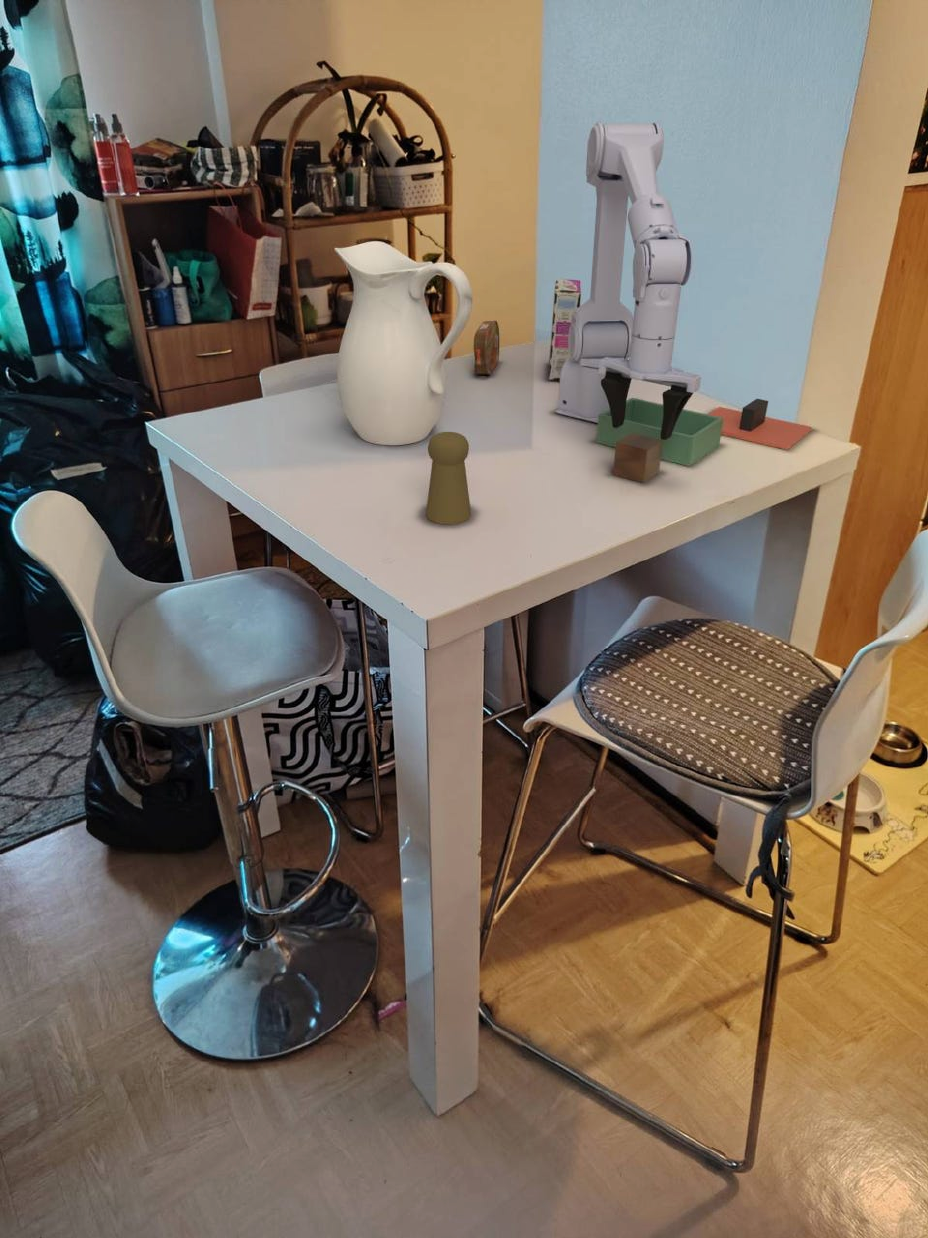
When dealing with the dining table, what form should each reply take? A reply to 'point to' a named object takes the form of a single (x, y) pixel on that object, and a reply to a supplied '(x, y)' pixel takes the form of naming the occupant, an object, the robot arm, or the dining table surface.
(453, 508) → the olive pawn figure
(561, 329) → the candy bar box
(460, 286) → the pitcher
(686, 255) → the robot arm
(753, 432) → the lunchbox lid
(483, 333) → the tin
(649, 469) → the walnut block
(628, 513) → the dining table surface
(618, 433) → the box
